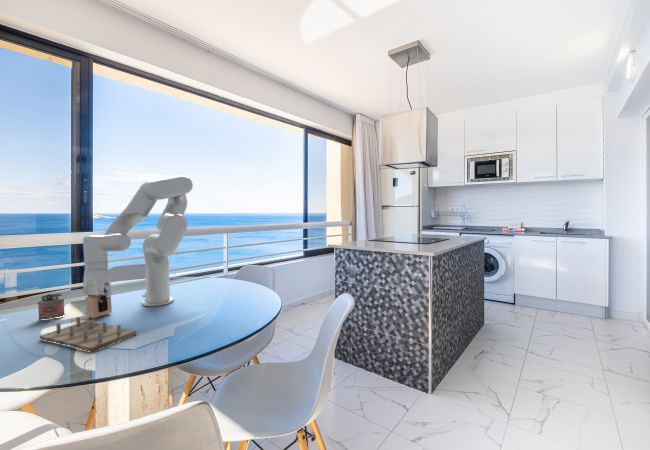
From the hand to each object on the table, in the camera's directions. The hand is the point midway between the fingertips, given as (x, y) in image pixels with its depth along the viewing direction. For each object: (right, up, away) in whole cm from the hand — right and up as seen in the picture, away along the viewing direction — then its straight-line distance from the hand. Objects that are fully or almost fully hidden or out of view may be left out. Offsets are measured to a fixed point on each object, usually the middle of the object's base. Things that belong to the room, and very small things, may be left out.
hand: (99, 310), depth 123 cm
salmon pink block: (0, -2, 0) cm, 2 cm away
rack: (+12, -3, -21) cm, 24 cm away
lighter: (-17, -3, -2) cm, 18 cm away
